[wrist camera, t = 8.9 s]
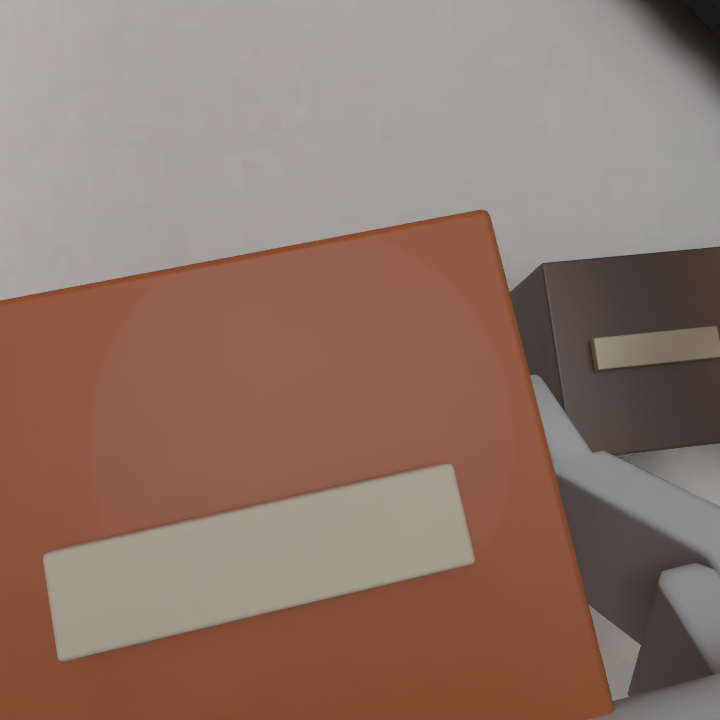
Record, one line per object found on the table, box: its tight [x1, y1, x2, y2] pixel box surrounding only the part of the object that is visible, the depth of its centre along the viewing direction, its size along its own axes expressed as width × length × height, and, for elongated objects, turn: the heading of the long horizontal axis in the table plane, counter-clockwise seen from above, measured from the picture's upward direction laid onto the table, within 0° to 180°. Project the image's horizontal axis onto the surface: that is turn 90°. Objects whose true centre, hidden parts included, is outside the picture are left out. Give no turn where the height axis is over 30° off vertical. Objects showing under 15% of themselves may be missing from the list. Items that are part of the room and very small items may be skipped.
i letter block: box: [0, 210, 614, 720], centre depth 10 cm, size 4×4×10 cm
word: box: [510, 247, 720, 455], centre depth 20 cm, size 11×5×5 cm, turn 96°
